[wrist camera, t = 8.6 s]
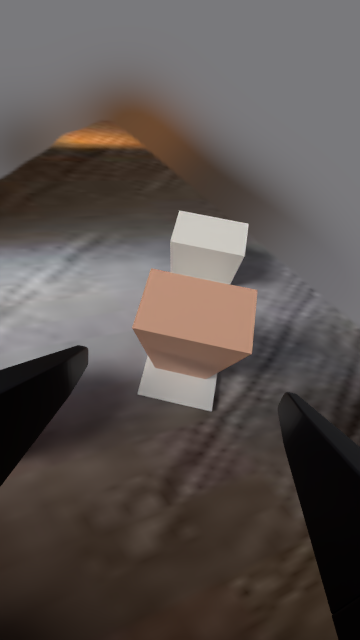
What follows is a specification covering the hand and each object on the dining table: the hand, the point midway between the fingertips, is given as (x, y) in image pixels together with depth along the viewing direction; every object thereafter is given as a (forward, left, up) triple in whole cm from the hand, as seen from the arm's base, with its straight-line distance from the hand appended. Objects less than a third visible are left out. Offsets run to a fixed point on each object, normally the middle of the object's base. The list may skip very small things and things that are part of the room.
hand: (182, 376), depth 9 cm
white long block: (+6, -5, -11) cm, 14 cm away
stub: (+2, -2, -11) cm, 11 cm away
